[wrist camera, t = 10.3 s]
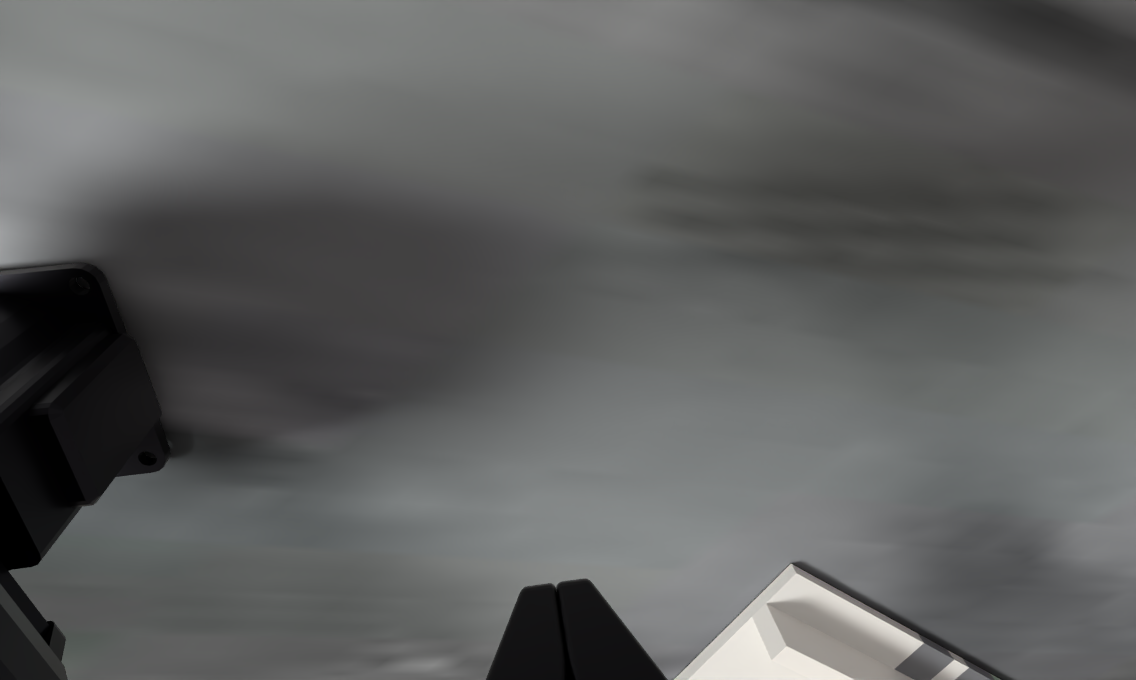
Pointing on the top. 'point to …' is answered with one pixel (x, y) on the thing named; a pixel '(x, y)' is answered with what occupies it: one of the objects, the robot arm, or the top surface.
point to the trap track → (822, 641)
